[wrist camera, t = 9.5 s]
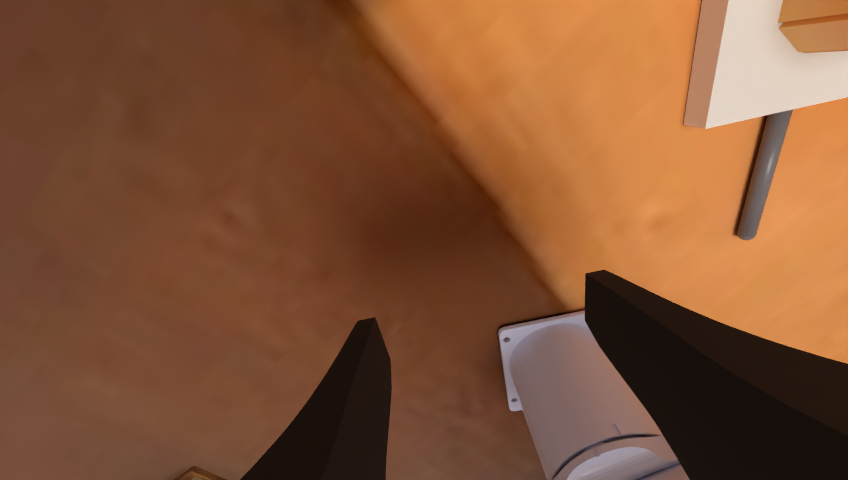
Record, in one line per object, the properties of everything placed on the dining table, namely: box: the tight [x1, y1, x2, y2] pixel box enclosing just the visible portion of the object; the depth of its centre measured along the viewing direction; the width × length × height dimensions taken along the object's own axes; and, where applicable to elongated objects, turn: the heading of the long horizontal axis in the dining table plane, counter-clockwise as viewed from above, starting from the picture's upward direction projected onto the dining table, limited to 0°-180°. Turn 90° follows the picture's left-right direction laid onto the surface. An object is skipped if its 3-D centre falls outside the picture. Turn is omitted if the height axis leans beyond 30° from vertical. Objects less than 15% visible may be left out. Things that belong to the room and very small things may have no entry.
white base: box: [683, 0, 848, 240], centre depth 15 cm, size 18×10×6 cm, turn 12°
